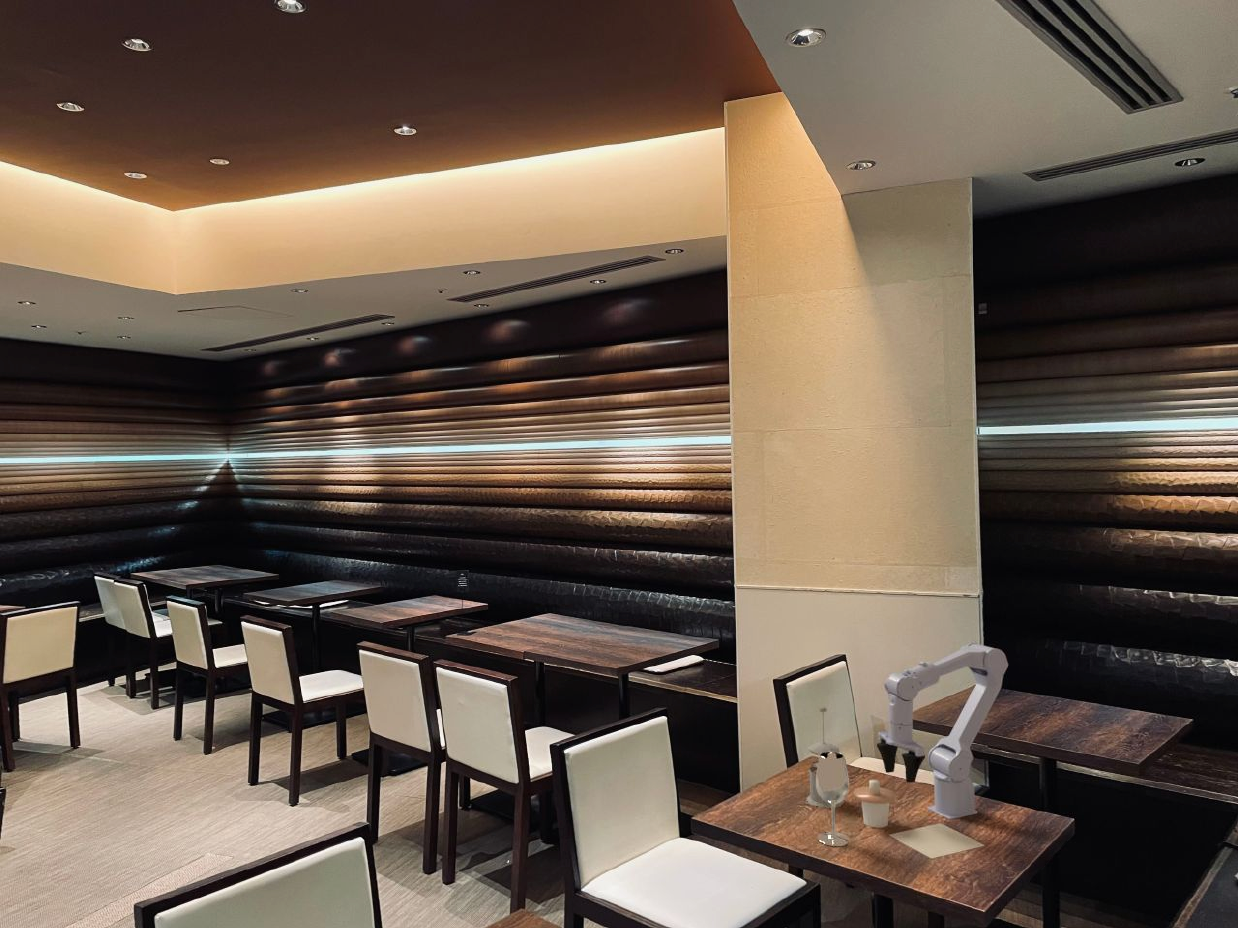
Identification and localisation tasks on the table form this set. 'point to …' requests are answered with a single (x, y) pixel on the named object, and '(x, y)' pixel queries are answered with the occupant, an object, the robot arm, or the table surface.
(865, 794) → the lid
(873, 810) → the white tapered pot
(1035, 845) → the table surface
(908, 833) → the mat
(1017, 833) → the table surface
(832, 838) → the wineglass
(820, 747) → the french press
